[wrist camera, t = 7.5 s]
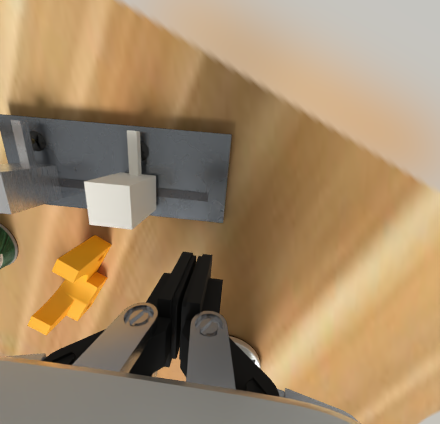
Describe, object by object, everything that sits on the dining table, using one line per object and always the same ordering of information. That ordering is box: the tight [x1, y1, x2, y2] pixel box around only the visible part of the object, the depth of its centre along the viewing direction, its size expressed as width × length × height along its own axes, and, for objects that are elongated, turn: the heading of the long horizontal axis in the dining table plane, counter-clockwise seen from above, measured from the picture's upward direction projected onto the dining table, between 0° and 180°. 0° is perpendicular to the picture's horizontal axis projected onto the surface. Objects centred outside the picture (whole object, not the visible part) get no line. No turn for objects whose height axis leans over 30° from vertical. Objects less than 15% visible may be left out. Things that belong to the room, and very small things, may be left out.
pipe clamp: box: [27, 235, 111, 335], centre depth 27 cm, size 12×4×6 cm, turn 146°
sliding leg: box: [84, 130, 156, 229], centre depth 20 cm, size 8×4×6 cm, turn 175°
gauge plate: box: [0, 114, 232, 223], centre depth 21 cm, size 10×26×8 cm, turn 85°
